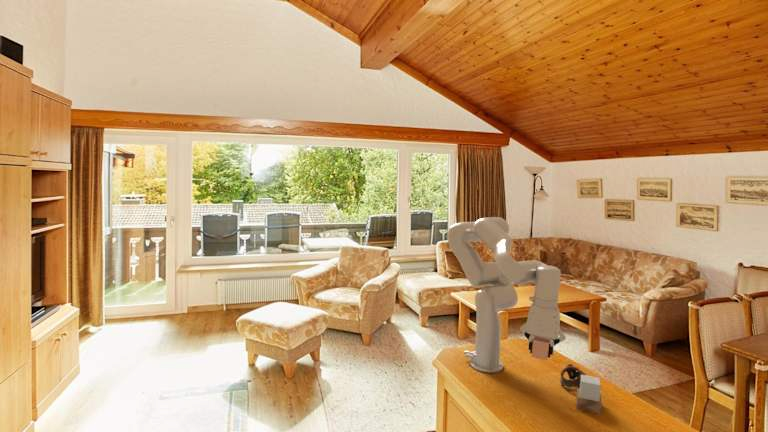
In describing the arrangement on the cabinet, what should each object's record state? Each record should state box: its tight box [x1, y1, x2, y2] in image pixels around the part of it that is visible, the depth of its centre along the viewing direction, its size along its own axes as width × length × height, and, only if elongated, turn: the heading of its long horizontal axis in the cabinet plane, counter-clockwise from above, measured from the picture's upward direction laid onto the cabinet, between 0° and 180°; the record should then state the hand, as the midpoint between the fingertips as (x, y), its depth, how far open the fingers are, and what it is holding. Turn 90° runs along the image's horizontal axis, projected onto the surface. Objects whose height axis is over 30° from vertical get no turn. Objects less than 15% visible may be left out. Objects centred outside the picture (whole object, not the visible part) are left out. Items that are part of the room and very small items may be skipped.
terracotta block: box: [531, 336, 550, 361], centre depth 142 cm, size 5×5×6 cm
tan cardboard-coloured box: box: [576, 387, 603, 415], centre depth 137 cm, size 7×7×4 cm
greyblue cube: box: [579, 374, 602, 402], centre depth 136 cm, size 6×6×6 cm
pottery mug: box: [559, 363, 587, 388], centre depth 151 cm, size 12×10×8 cm
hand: (540, 353), depth 142 cm, fingers closed on terracotta block, 5 cm apart
